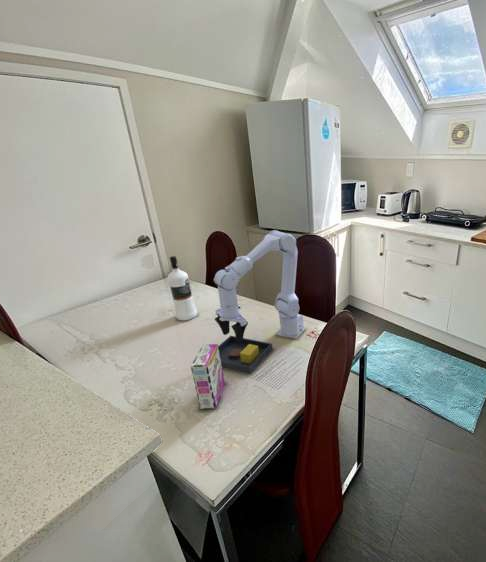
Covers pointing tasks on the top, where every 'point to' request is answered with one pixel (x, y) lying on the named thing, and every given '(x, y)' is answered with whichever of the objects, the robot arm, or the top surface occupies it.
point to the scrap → (235, 353)
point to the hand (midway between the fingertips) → (233, 336)
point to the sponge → (249, 353)
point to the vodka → (181, 292)
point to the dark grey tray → (236, 362)
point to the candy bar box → (208, 376)
